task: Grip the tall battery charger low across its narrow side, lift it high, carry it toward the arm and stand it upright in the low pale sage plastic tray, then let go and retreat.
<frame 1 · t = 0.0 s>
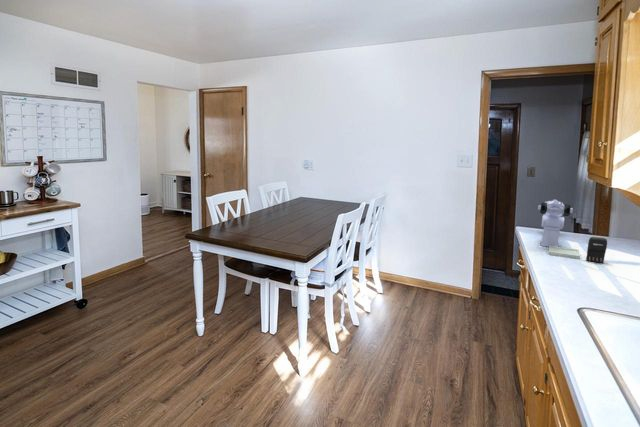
hand: (555, 210, 186), 22 cm above the worktop, tool horizontal, fingers open, 7 cm apart
tray: (563, 253, 192), on the worktop
battery charger: (594, 262, 180), on the worktop
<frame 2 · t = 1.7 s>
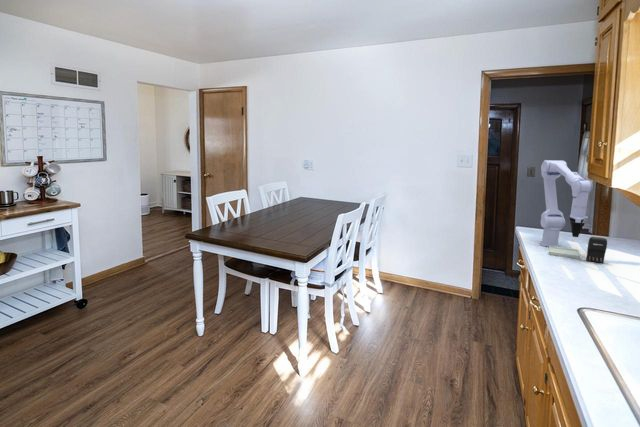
hand: (574, 235, 186), 10 cm above the worktop, tool pointing down, fingers open, 7 cm apart
nothing on the worktop moved.
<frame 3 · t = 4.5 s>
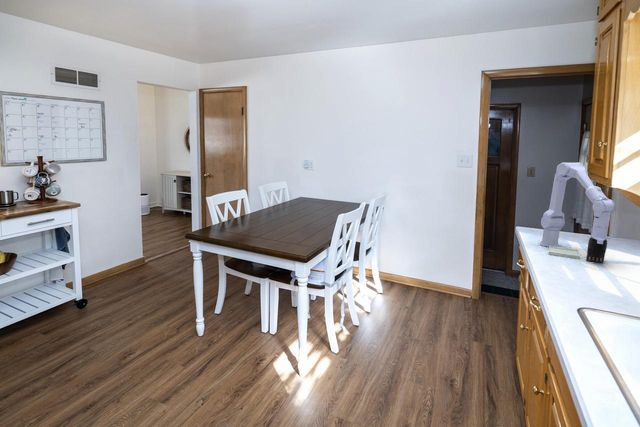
hand: (595, 255, 180), 3 cm above the worktop, tool pointing down, fingers closed on battery charger, 4 cm apart
battery charger: (594, 262, 180), on the worktop, touching gripper
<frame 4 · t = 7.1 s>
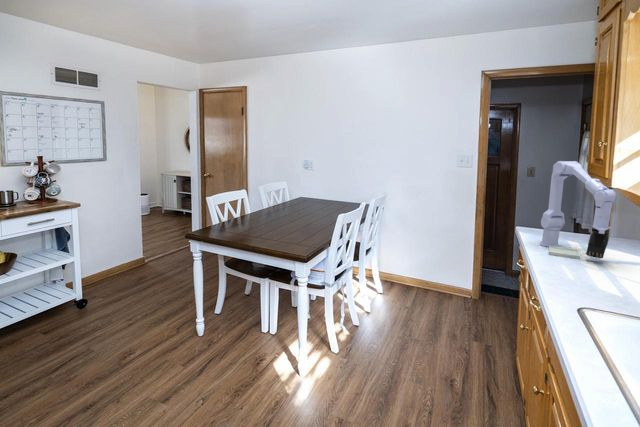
hand: (597, 246, 179), 7 cm above the worktop, tool pointing down, fingers closed on battery charger, 4 cm apart
battery charger: (594, 257, 180), point 2 cm above the worktop, touching gripper
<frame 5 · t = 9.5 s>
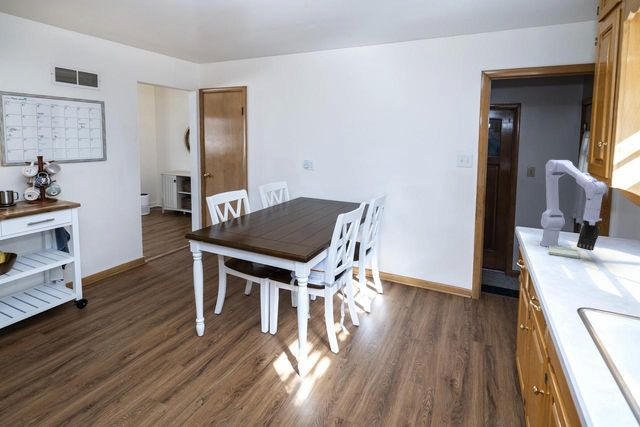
hand: (588, 237, 182), 10 cm above the worktop, tool pointing down, fingers closed on battery charger, 4 cm apart
battery charger: (584, 249, 183), point 5 cm above the worktop, touching gripper
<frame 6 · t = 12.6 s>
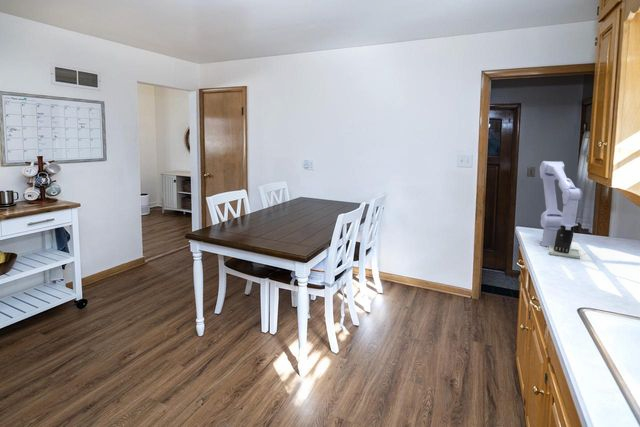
hand: (565, 241, 191), 6 cm above the worktop, tool pointing down, fingers closed on battery charger, 4 cm apart
battery charger: (560, 252, 192), point 1 cm above the worktop, touching gripper, tray
when the fingers open (4 cm above the worktop, at t = 14.1 s): battery charger stays where it is, resting on tray.
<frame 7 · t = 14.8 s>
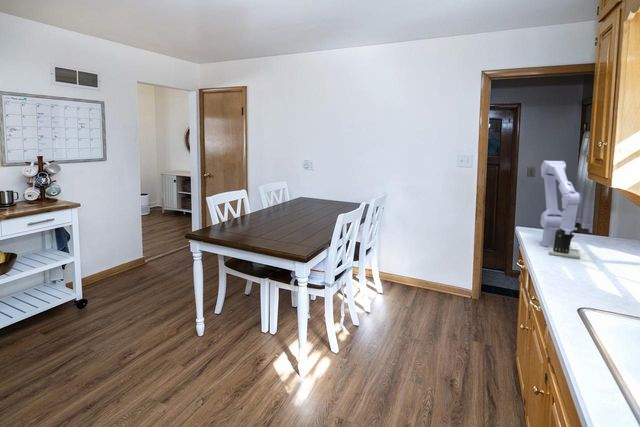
hand: (564, 245, 191), 4 cm above the worktop, tool pointing down, fingers open, 7 cm apart
battery charger: (560, 252, 192), resting on tray
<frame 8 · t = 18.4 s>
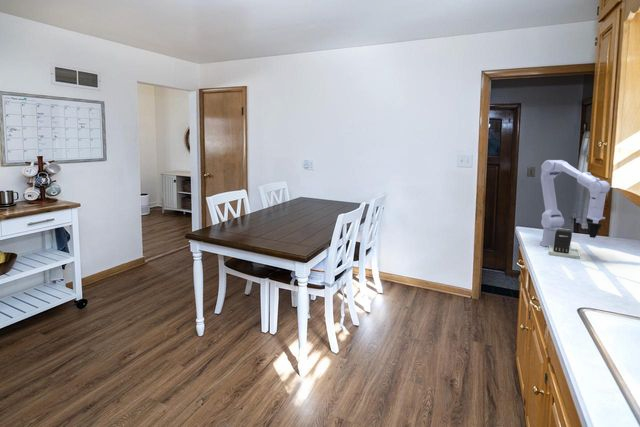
hand: (591, 235, 185), 10 cm above the worktop, tool pointing down, fingers open, 7 cm apart
nothing on the worktop moved.
at the end: battery charger inside the target area on the tray (1.2 cm from its centre), point 0.3 cm above the tray's base; battery charger tilted 0°; the gripper is holding nothing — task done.
